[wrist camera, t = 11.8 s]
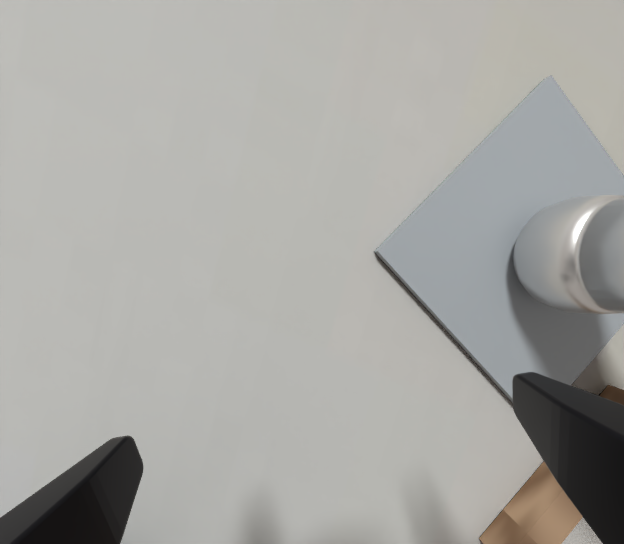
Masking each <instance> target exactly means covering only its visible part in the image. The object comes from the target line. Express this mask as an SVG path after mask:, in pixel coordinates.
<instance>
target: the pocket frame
mask: <svg viewBox="0 0 624 544" xmlns="http://www.w3.org/2000/svg"><path fill="white" fill-rule="evenodd" d="M599 396H600V397H603V398H606V399H608V400H611V401H614V402H617V403H619V404H622V405H624V390H622V389H619V388H616V387H613V386H610V385H608V386H607V387H606V388H605V389H604V391H603V392H602V393H601V394H600V395H599ZM582 517H583V516H582V515H581V514H580V512H579V511H578V510H577V508H576V507H575V506H574V504H573V503H572V502H571V500H570V499H569V498H568V496H567V495H566V493H565V492H564V491H563V489H562V488H561V487H560V485H559V484H558V482H557V481H556V479H555V478H554V476H553V475H552V473H551V472H550V470H549V468H548V467H547V465H546V464H545V462H543V463H542V464H541V465H540V467H539V468H538V469H537V470H536V471H535V472H534V474H533V475H532V476H531V477H530V478H529V480H528V481H527V482H526V483H525V484H524V485H523V487H522V488H521V489H520V490H519V491H518V493H517V494H516V495H515V496H514V497H513V498H512V500H511V501H510V502H509V503H508V504H507V506H506V507H505V508H504V509H503V510H502V512H501V513H500V514H499V515H498V516H497V517H496V519H495V520H494V521H493V522H492V523H491V525H490V526H489V527H488V528H487V529H486V530H485V532H484V533H483V534H482V535H481V536H480V538H479V539H480V540H481V542H482V543H483V544H561V543H562V542H563V541H564V540H565V538H566V537H567V536H568V535H569V533H570V532H571V531H572V530H573V529H574V527H575V526H576V525H577V524H578V522H579V521H580V520H581V519H582Z"/></svg>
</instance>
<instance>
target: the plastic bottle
mask: <svg viewBox="0 0 624 544" xmlns="http://www.w3.org/2000/svg"><path fill="white" fill-rule="evenodd" d="M513 258H514V268H515V272H516V275H517V277H518V279H519V281H520V282H521V284H522V285H523V287H524V288H525V289H526V291H527V292H528V293H529V294H530V295H531V296H532V297H533V298H534V299H536V300H537V301H539V302H541V303H543V304H546V305H548V306H551V307H554V308H557V309H559V310H562V311H566V312H569V313H588V314H618V313H624V196H622V195H597V196H580V197H573V198H570V199H568V200H565V201H562V202H559V203H556V204H554V205H551V206H548V207H545V208H544V209H542V210H541V211H539V212H537V213H536V214H535V215H534V216H533V217H532V218H531V219H530V220H529V221H528V223H527V224H526V225H525V226H524V228H523V229H522V230H521V232H520V234H519V236H518V238H517V240H516V244H515V247H514V255H513Z"/></svg>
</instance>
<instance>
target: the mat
mask: <svg viewBox="0 0 624 544" xmlns="http://www.w3.org/2000/svg"><path fill="white" fill-rule="evenodd" d="M597 195H622V196H624V175H623V174H622V172H621V171H620V170H619V168H618V167H617V166H616V164H615V163H614V161H613V160H612V159H611V157H610V156H609V154H608V153H607V152H606V150H605V149H604V148H603V146H602V145H601V143H600V142H599V141H598V139H597V138H596V136H595V135H594V134H593V132H592V131H591V130H590V128H589V127H588V125H587V124H586V123H585V121H584V120H583V118H582V117H581V116H580V114H579V113H578V111H577V110H576V109H575V107H574V106H573V105H572V103H571V102H570V100H569V99H568V98H567V96H566V95H565V93H564V92H563V91H562V89H561V88H560V87H559V85H558V84H557V82H556V81H555V80H554V78H553V77H552V75H550V76H549V77H547V78H545V79H544V80H542V81H541V82H540V84H539V85H538V86H537V87H536V88H535V89H534V90H533V91H532V92H531V93H530V94H529V95H528V96H527V97H526V98H525V99H524V100H523V101H522V102H521V103H520V104H519V105H518V106H517V107H516V108H515V109H514V110H513V111H512V112H511V113H510V114H509V115H508V116H507V117H506V118H505V119H504V120H503V121H502V122H501V123H500V124H499V125H498V126H497V127H496V128H495V129H494V130H493V131H492V132H491V133H490V134H489V135H488V136H487V137H486V138H485V139H484V140H483V141H482V142H481V143H480V144H479V145H478V146H477V148H476V149H475V150H474V151H473V152H472V153H471V154H470V155H469V156H468V157H467V158H466V159H465V160H464V161H463V162H462V163H461V164H460V165H459V166H458V167H457V168H456V169H455V170H454V171H453V172H452V173H451V174H450V175H449V176H448V177H447V178H446V179H445V180H444V181H443V182H442V183H441V184H440V185H439V186H438V187H437V188H436V189H435V190H434V191H433V192H432V193H431V194H430V195H429V196H428V197H427V198H426V199H425V200H424V201H423V202H422V203H421V204H420V205H419V206H418V207H417V208H416V209H415V210H414V212H413V213H412V214H411V215H410V216H409V217H408V218H407V219H406V220H405V221H404V222H403V223H402V224H401V225H400V226H399V227H398V228H397V229H396V230H395V231H394V232H393V233H392V234H391V235H390V236H389V237H388V238H387V239H386V240H385V241H384V242H383V243H382V244H381V245H380V246H379V247H378V248H377V249H376V250H375V251H374V252H375V253H376V254H377V255H378V256H379V257H380V258H381V260H382V261H383V262H384V263H385V264H386V265H387V266H388V267H389V268H390V269H391V270H392V272H393V273H394V274H395V275H396V276H397V277H398V278H399V279H400V280H401V281H402V282H403V284H404V285H405V286H406V287H407V288H408V289H409V290H410V291H411V292H412V293H413V294H414V296H415V297H416V298H417V299H418V300H419V301H420V302H421V303H422V304H423V305H424V306H425V308H426V309H427V310H428V311H429V312H430V313H431V314H432V315H433V316H434V317H435V318H436V320H437V321H438V322H439V323H440V324H441V325H442V326H443V327H444V328H445V329H446V330H447V332H448V333H449V334H450V335H451V336H452V337H453V338H454V339H455V340H456V341H457V342H458V344H459V345H460V346H461V347H462V348H463V349H464V350H465V351H466V352H467V353H468V354H469V355H470V357H471V358H472V359H473V360H474V361H475V362H476V363H477V364H478V365H479V366H480V367H481V369H482V370H483V371H484V372H485V373H486V374H487V375H488V376H489V377H490V378H491V379H492V381H493V382H494V383H495V384H496V385H497V386H498V387H499V388H500V389H501V390H502V391H503V393H504V394H505V395H506V396H507V397H508V398H509V399H510V400H511V401H512V380H513V376H514V375H516V374H520V373H526V372H535V373H538V374H541V375H543V376H546V377H549V378H551V379H554V380H557V381H560V382H562V383H565V384H568V385H570V386H571V385H572V383H573V382H574V381H575V380H576V379H577V378H578V376H579V375H580V374H581V373H582V372H583V371H584V369H585V368H586V367H587V366H588V365H589V364H590V362H591V361H592V360H593V359H594V358H595V357H596V355H597V354H598V353H599V352H600V351H601V350H602V348H603V347H604V346H605V345H606V344H607V343H608V342H609V340H610V339H611V338H612V337H613V336H614V335H615V333H616V332H617V331H618V330H619V329H620V328H621V326H622V325H623V324H624V313H618V314H588V313H569V312H566V311H562V310H559V309H557V308H554V307H551V306H548V305H546V304H543V303H541V302H539V301H537V300H536V299H534V298H533V297H532V296H531V295H530V294H529V293H528V292H527V291H526V289H525V288H524V287H523V285H522V284H521V282H520V281H519V279H518V277H517V275H516V272H515V268H514V258H513V255H514V247H515V244H516V240H517V238H518V236H519V234H520V232H521V230H522V229H523V228H524V226H525V225H526V224H527V223H528V221H529V220H530V219H531V218H532V217H533V216H534V215H535V214H536V213H537V212H539V211H541V210H542V209H544V208H545V207H548V206H551V205H554V204H556V203H559V202H562V201H565V200H568V199H570V198H573V197H580V196H597ZM512 402H513V401H512Z"/></svg>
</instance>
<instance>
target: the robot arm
mask: <svg viewBox="0 0 624 544" xmlns="http://www.w3.org/2000/svg"><path fill="white" fill-rule="evenodd" d="M512 401H513V409H514V412H515V414H516V416H517V418H518V420H519V421H520V423H521V425H522V426H523V428H524V429H525V431H526V433H527V434H528V436H529V438H530V439H531V441H532V442H533V444H534V446H535V447H536V449H537V451H538V452H539V454H540V455H541V457H542V459H543V460H544V462H545V464H546V465H547V467H548V468H549V470H550V472H551V473H552V475H553V476H554V478H555V479H556V481H557V482H558V484H559V485H560V487H561V488H562V489H563V491H564V492H565V493H566V495H567V496H568V498H569V499H570V500H571V502H572V503H573V504H574V506H575V507H576V508H577V510H578V511H579V512H580V514H581V515H582V516H583V518H584V519H585V520H586V522H587V523H588V524H589V526H590V527H591V528H592V530H593V531H594V532H595V534H596V535H597V536H598V538H599V539H600V540H601V542H602V543H603V544H624V405H622V404H619V403H617V402H614V401H611V400H608V399H606V398H603V397H600V396H598V395H595V394H592V393H589V392H587V391H584V390H581V389H579V388H576V387H573V386H570V385H568V384H565V383H562V382H560V381H557V380H554V379H551V378H549V377H546V376H543V375H541V374H538V373H535V372H526V373H520V374H516V375H514V376H513V380H512ZM142 473H143V462H142V459H141V456H140V454H139V451H138V449H137V446H136V444H135V441H134V439H133V438H132V437H131V436H122V437H116V438H112V439H110V440H109V441H108V442H106V443H105V444H103V445H102V446H100V447H99V448H98V449H96V450H95V451H93V452H92V453H91V454H89V455H88V456H86V457H85V458H84V459H82V460H81V461H79V462H78V463H77V464H75V465H74V466H72V467H71V468H70V469H68V470H67V471H65V472H64V473H63V474H61V475H60V476H58V477H57V478H56V479H54V480H53V481H51V482H50V483H48V484H47V485H46V486H44V487H43V488H41V489H40V490H39V491H37V492H36V493H34V494H33V495H32V496H30V497H29V498H27V499H26V500H25V501H23V502H22V503H20V504H19V505H18V506H16V507H15V508H13V509H12V510H11V511H9V512H8V513H6V514H5V515H4V516H2V517H1V518H0V544H120V542H121V540H122V537H123V534H124V531H125V527H126V524H127V521H128V518H129V515H130V512H131V509H132V505H133V502H134V499H135V496H136V493H137V490H138V486H139V483H140V480H141V477H142Z"/></svg>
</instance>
